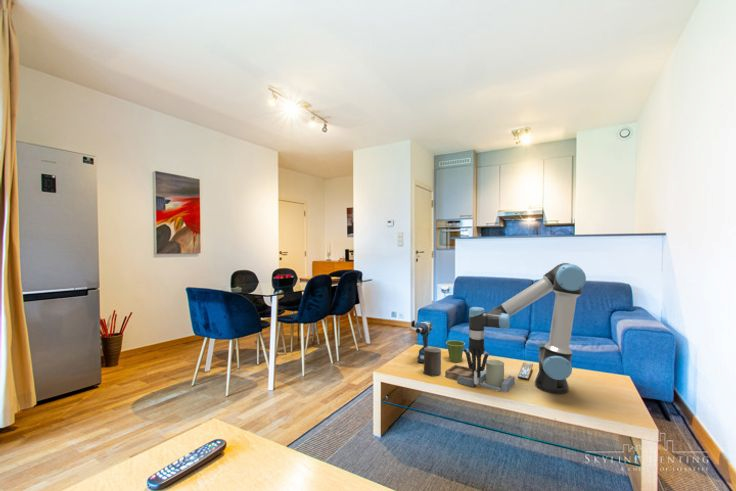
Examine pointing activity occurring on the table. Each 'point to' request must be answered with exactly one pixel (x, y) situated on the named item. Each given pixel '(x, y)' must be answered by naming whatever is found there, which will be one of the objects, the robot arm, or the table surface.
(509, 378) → the socket block
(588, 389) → the table surface
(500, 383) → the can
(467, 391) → the table surface
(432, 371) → the pillar candle
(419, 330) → the impact wrench
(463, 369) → the tray
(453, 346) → the plant pot
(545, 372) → the robot arm
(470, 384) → the grey t-shaped block
